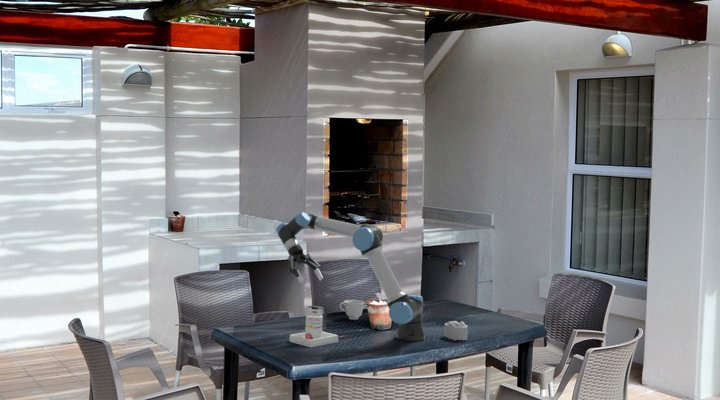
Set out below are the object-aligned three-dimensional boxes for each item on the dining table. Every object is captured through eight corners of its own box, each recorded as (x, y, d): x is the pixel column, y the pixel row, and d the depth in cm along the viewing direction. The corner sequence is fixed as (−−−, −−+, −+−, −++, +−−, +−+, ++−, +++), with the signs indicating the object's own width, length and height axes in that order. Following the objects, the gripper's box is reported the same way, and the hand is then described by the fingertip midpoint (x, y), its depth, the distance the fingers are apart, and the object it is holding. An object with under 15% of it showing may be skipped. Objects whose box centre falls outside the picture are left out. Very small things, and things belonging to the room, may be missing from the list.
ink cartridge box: (304, 339, 454) (305, 310, 453) (305, 337, 459) (306, 308, 458) (321, 339, 455) (322, 311, 454) (321, 337, 460) (322, 309, 459)
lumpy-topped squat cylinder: (456, 334, 485) (457, 319, 485) (471, 339, 474) (472, 323, 474) (441, 336, 480) (441, 320, 479) (456, 341, 469) (457, 325, 468)
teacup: (335, 317, 522) (336, 300, 522) (359, 316, 528) (360, 299, 527) (342, 321, 511) (343, 304, 510) (367, 320, 516) (367, 303, 516)
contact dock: (338, 342, 458) (338, 335, 458) (310, 347, 445) (310, 340, 445) (317, 336, 470) (317, 330, 469) (289, 341, 456) (289, 334, 456)
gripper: (308, 251, 488) (325, 282, 479) (272, 254, 471) (290, 286, 461) (314, 242, 484) (332, 273, 474) (279, 245, 467) (297, 277, 457)
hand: (311, 280), depth 468 cm, fingers open, 13 cm apart
